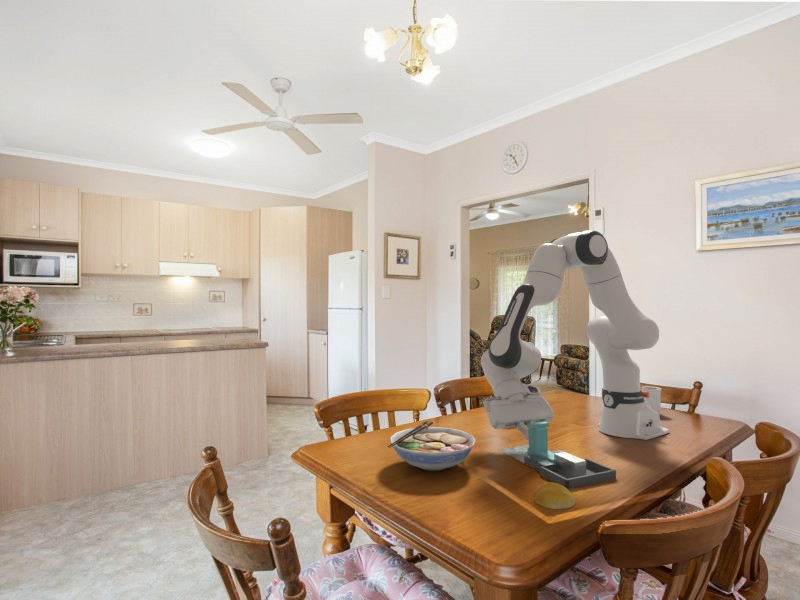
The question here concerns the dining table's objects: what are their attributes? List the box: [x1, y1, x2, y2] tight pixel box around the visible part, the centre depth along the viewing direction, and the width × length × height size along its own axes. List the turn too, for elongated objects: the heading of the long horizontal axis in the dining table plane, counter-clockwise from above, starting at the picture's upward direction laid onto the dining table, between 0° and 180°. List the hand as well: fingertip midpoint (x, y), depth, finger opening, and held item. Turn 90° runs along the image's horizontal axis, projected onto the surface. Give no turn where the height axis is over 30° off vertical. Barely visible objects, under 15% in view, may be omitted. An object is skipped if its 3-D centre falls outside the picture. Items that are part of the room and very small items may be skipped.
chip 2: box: [564, 455, 586, 478], centre depth 105 cm, size 4×4×4 cm
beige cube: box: [554, 451, 575, 474], centre depth 108 cm, size 4×4×4 cm
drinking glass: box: [641, 385, 662, 416], centre depth 169 cm, size 7×7×10 cm
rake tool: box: [526, 422, 555, 464], centre depth 114 cm, size 6×10×10 cm, turn 21°
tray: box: [539, 458, 617, 490], centre depth 104 cm, size 15×9×3 cm, turn 112°
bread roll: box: [533, 481, 576, 510], centre depth 92 cm, size 8×9×4 cm
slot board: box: [497, 444, 580, 472], centre depth 118 cm, size 12×20×3 cm, turn 22°
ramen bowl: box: [387, 420, 476, 472], centre depth 115 cm, size 25×23×8 cm
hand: (532, 438), depth 119 cm, fingers closed, pressing on rake tool
